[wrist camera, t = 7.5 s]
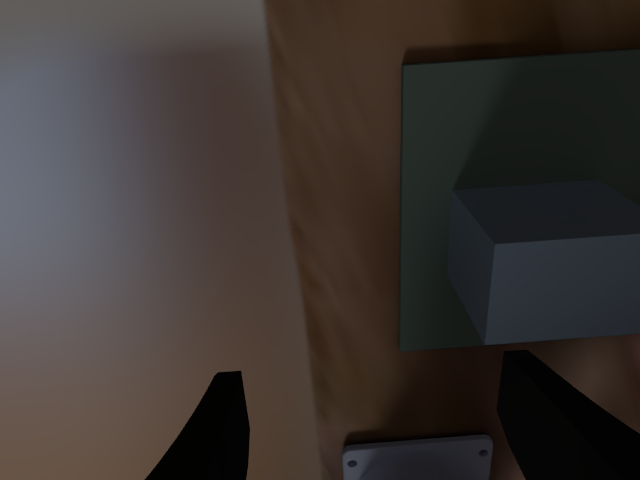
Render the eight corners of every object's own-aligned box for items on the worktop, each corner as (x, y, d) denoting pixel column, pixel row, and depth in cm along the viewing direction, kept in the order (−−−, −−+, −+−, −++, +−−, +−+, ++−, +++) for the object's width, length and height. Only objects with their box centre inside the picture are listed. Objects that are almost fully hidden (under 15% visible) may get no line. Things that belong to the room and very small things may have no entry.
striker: (581, 265, 23) (651, 332, 18) (447, 275, 23) (484, 344, 18) (597, 179, 21) (679, 230, 17) (451, 189, 21) (495, 244, 17)
